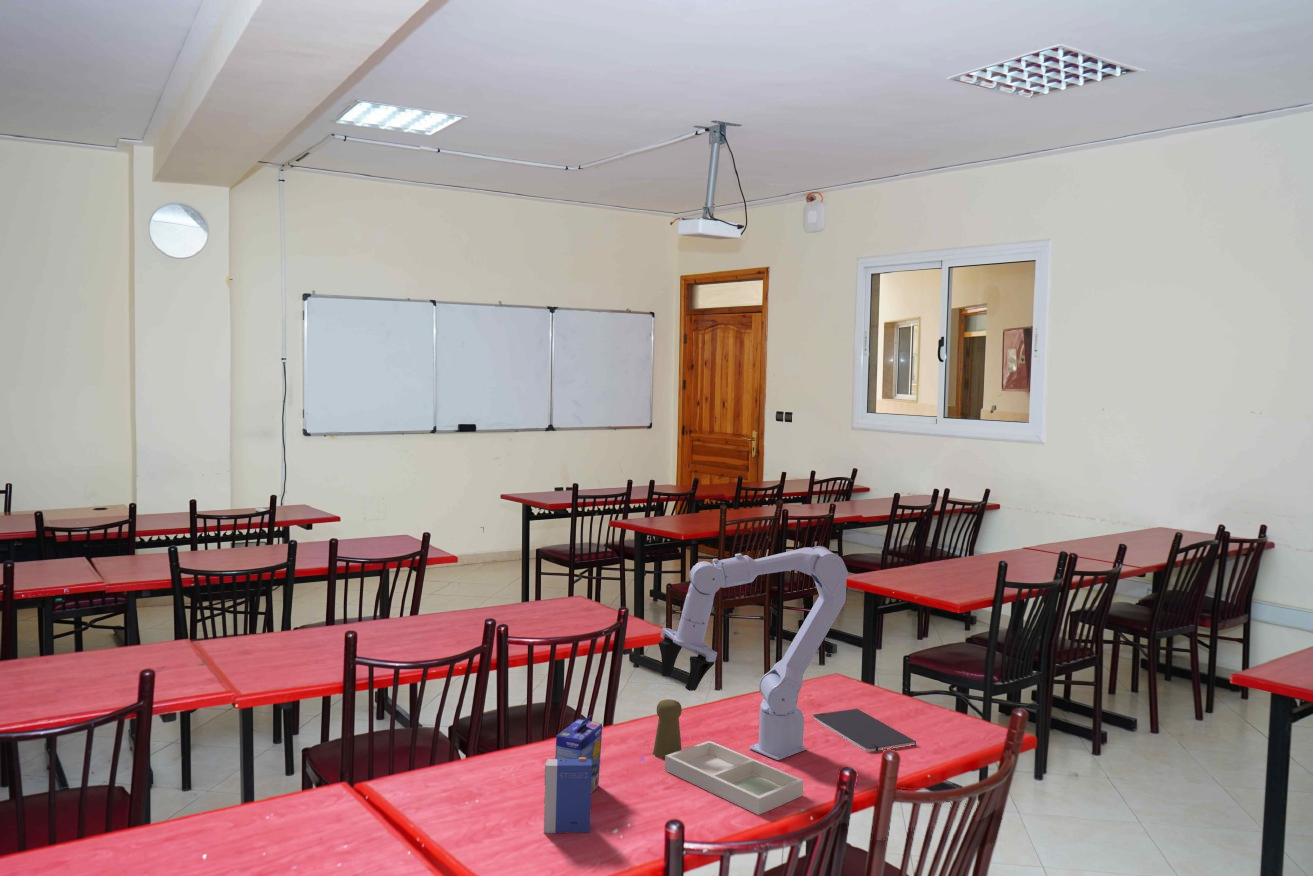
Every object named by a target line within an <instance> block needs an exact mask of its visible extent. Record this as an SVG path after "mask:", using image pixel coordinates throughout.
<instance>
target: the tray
mask: <svg viewBox="0 0 1313 876" xmlns="http://www.w3.org/2000/svg"><path fill="white" fill-rule="evenodd" d="M664 771H665V772H667V773H669V774H671V775H673V776H676V777H677V778H680V779H682V780H684V781H686V782H688V783H690V784H693V785H695V786H696V787H699V788H701V789H702V790H706V791H707V792H709V793H711V794H714V795H716V796H718V797H719V798H722V799H724V800H726V801H728V802H730V803H732V804H734V805H736V806H739V807H741V808H743V809H745V810H747V811H749V812H751V813H754V814H755V815H758V816H760V815H763V814H764V813H767V812H769V811H771V810H774V809H775V808H776V809H777V808H778V807H780V806H783V805H785V804H787V803H789V802H791V801H794V800H796V799H798V798H800V797H803V795H804V779H802V778H800V777H797V776H796V775H793V774H790V773H787V772H785V771H783V770H781V769H779V768H776V767H773V766H771V765H768V764H766V763H764V762H762V761H759V760H757V759H754V758H752V757H749V756H747V755H745V754H743V753H740V752H738V751H735V750H733V749H731V748H728V747H727V746H723V745H721V744H718V743H717V742H714V741H712V740H707V741H704V742H702V743H697V744H695V745H692V746H690V747H687V748H683V749H682V750H680V751H677V752H674V753H671V754H668V755H665V759H664Z"/></svg>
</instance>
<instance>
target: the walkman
mask: <svg viewBox="0 0 1313 876" xmlns="http://www.w3.org/2000/svg"><path fill="white" fill-rule="evenodd" d="M591 778H592V760H591V759H586V757H579V759H555V758H553V759H552V758H551V759H550V758H548V759H546V762H545V765H544V794H543V795H544V800H543V803H544V807H543V808H544V811H543V812H544V815H543V834H558V833H559V834H560V833H561V834H564V833H563V832H574V833H590V832H591V811H592V810H591V809H592V808H591V807H592V801H591V800H592V792H591Z"/></svg>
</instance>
